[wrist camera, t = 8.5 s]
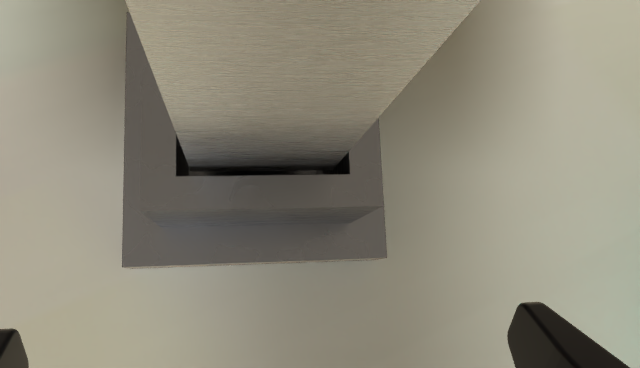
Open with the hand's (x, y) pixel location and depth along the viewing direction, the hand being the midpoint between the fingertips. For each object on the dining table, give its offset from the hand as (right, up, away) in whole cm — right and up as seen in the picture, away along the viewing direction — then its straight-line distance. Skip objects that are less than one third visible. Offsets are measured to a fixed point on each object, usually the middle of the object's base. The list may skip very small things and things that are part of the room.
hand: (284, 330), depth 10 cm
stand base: (-2, +4, +14) cm, 15 cm away
